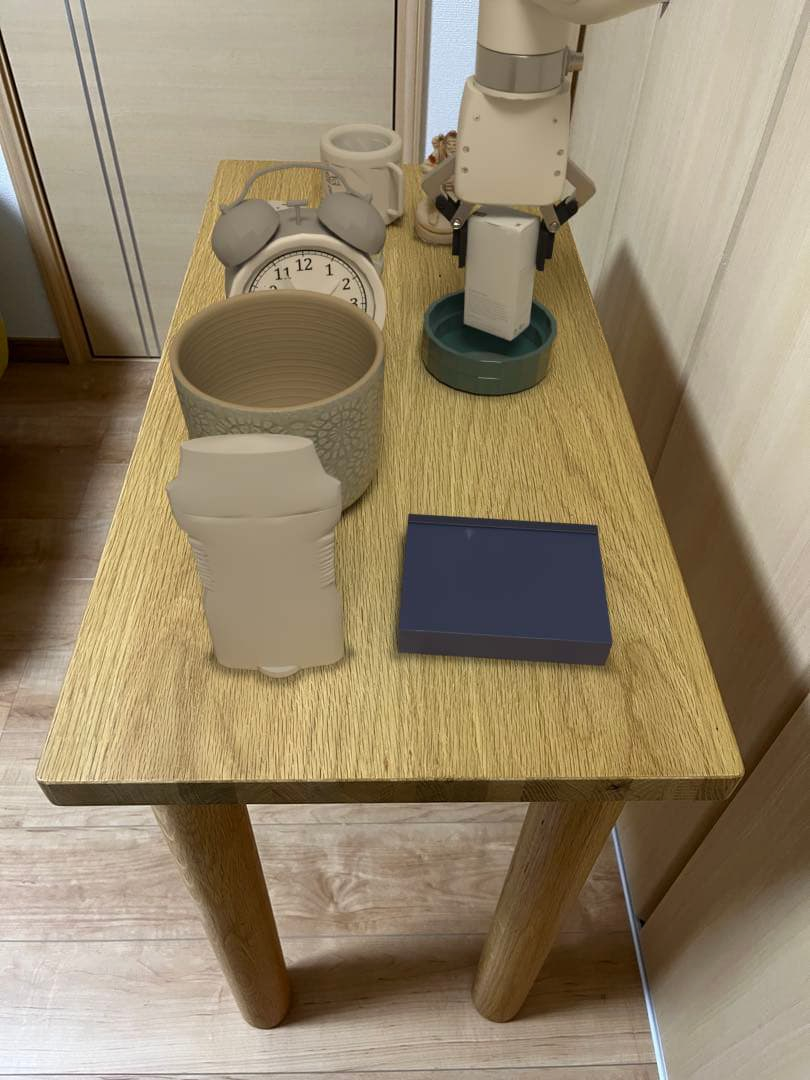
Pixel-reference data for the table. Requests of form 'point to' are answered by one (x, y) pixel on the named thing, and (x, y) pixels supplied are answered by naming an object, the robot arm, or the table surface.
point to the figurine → (427, 215)
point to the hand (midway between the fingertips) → (500, 262)
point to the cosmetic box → (500, 269)
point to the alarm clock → (304, 245)
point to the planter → (287, 376)
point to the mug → (365, 165)
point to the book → (504, 590)
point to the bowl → (485, 349)
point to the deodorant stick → (263, 548)
